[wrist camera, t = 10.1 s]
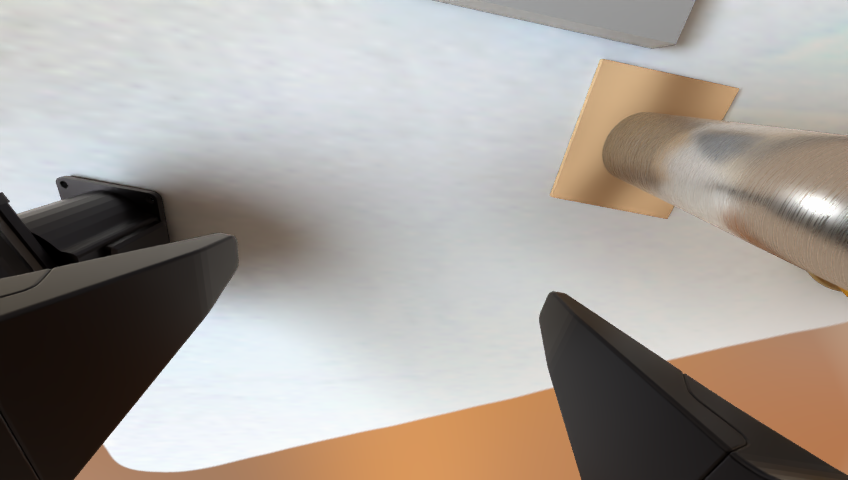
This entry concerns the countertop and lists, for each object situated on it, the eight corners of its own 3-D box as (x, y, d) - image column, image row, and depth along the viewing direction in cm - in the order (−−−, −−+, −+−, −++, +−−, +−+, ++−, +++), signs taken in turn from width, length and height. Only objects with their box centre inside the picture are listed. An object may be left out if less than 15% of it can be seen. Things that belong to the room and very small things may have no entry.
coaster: (549, 195, 21) (551, 196, 21) (600, 59, 18) (603, 59, 18) (663, 216, 22) (667, 218, 22) (733, 88, 18) (739, 88, 18)
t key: (599, 199, 21) (905, 404, 7) (606, 99, 18) (1089, 137, 5) (663, 189, 21) (1107, 386, 7) (679, 87, 18) (1416, 90, 5)
